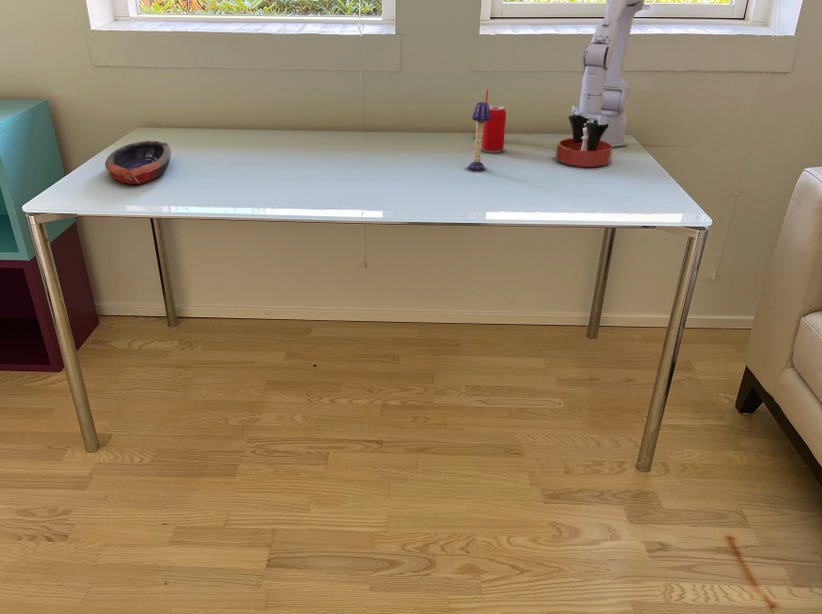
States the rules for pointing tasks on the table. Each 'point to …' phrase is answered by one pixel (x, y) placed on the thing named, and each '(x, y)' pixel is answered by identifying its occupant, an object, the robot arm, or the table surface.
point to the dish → (138, 161)
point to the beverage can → (494, 130)
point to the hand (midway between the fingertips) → (584, 146)
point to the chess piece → (585, 138)
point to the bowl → (583, 153)
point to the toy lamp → (479, 133)
